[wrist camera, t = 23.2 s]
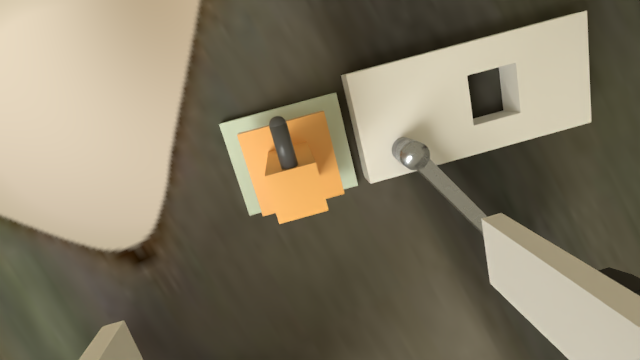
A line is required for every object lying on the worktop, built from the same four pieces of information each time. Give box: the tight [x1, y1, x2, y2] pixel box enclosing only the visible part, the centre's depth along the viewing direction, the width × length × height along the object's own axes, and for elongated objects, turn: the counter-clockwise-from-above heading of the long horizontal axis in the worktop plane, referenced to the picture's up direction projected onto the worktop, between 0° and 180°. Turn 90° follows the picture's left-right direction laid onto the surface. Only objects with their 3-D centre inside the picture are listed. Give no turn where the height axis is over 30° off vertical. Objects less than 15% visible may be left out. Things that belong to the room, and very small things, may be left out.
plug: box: [237, 111, 345, 224], centre depth 31 cm, size 8×9×13 cm
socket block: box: [341, 11, 591, 184], centre depth 37 cm, size 24×11×4 cm, turn 103°
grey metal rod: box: [396, 139, 487, 236], centre depth 37 cm, size 21×3×2 cm, turn 46°
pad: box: [219, 93, 358, 215], centre depth 38 cm, size 12×10×1 cm
